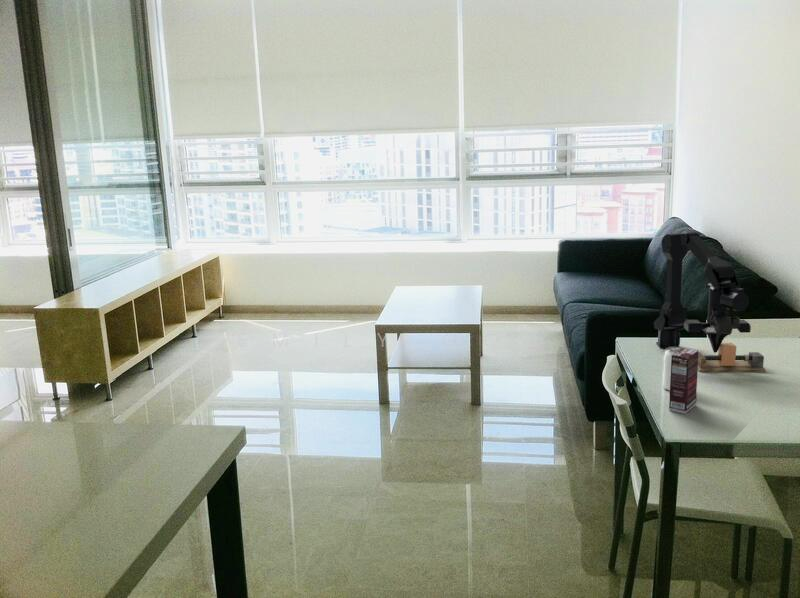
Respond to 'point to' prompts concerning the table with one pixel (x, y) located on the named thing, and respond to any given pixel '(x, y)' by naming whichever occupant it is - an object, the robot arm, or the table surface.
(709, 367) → the comb rail
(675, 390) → the supplement box
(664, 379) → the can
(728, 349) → the sleeve
